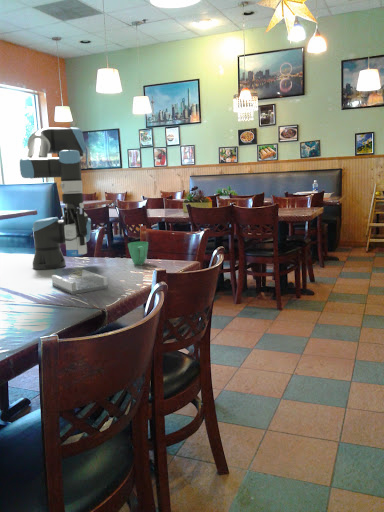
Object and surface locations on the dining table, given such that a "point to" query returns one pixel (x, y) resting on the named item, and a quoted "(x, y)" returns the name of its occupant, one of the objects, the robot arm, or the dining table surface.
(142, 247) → the mug
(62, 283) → the whitish low flat box
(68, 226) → the ink box
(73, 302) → the dining table surface
